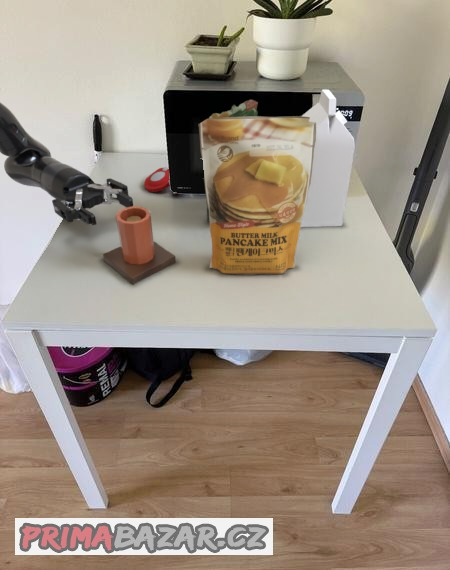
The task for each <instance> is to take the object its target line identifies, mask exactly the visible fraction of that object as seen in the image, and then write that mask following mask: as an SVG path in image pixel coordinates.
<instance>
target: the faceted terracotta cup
mask: <svg viewBox="0 0 450 570" xmlns="http://www.w3.org/2000/svg"><path fill="white" fill-rule="evenodd" d="M131 216H139V217H140V218H141V220H139V221H134V222H130V221H127V218H128V217H131ZM115 220H116V226H117V232H118V238H119V245H120V246H121V251H122V256H123V259H124V261H126V262H128V263H130V264H137V265H140V264H144V263H147V262H149V261H150V260H152V259H153V257H154V255H155V250H154V242H155V240H154V233H153V223H152V216H151V212H150V210H149V209H148V208H146V207H143V206H137V205H136V206H135V205H133V206H132V207H127V208H126V207H124V208H122V209H119V210H118V211H117V213H116V215H115Z"/></svg>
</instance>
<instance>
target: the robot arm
mask: <svg viewBox="0 0 450 570" xmlns="http://www.w3.org/2000/svg"><path fill="white" fill-rule="evenodd" d="M0 154H2V155H3V156H5V157H7V158H5V160H4V163H3V167H4V171H5V173H6V174H7V176H8V177H9V178H10V179H11V180H12V181H14V182H16V183H18V184H20V185H22V186H27V187H33V188H34V187H35V188H40V189H41V190H43V191H45V192H46V193H47V194H48V195H49V196H50V197H52V198H54V199H52V200H51V202H52V206H53V210H54V213H55V214H56V215H57V216H59V217H60V218H61V219H63V220H64V221H65V222H66V223H69V224H70V223H73V222H74V220H76V221H82V222H83V223H84V224H86V225H90V226H92V227H93V226H94V227H95V226H96V225H98V224H97V218H96V215H95V214H94V213H93V212H91V211H89V209H92V208H94V207H96V206H99V205H111V204H112V203H118V204H120V205H121V206H123V207H124V208H127V207H132V206H134V200H133V197H132V196H130V195H129V189H128V188H129V187H128V185H126V184H124V183H122V182H120V181H117V180H115V179H113V178H107V179H106V183H103V184H100V183H96V182H95V181H93V179H92V178H91V177H90V176H89V175H87V174H86V173H84V172H82V171H81V170H78V169H77V168H74V167H73V166H72V165H69V164H66V163H63V162H61V161H59V160H57V159H56V158H54V157H52V153H51V151H50V150H49V149H48V148H47V146H45V145H44V144H43V143H42V142H40V141H39V140H37V139H35V138H34V137H33V136H31V135H30V134H29V133H28V132H27V130H25V127H23V125H22V124H21V122H20V121H19V120H18V119H17V117H16V115H15V114H14V113H13V112H12V110H10V109H9V108H8V107H7V106H6V105H5V104H3V102H0ZM105 194H106V198H105ZM113 195H116V197H114V196H113Z"/></svg>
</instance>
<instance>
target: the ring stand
mask: <svg viewBox="0 0 450 570" xmlns="http://www.w3.org/2000/svg"><path fill="white" fill-rule="evenodd" d="M139 220H141V218H140V217H139V216H131V217H128V218H127V221H130V222H134V221H139ZM154 250H155V255H154V257H153V259H152V260H150V261H149V262H147V263H144V264H140V265H137V264H130V263H128V262H126V261H124V259H123V256H122V251H121V245H120V246H118V247H116V248H113V249H111V250H110V251H107V252H105V253H102V259H103V261H104V263H106V264H107V265H108V266H110V267H111V268H112V269H113V270H115V272H117V273H118V274H119V275H121V277H123V278H124V279H126V280H127V281H128V282H129V283H131V284H132V285H135V284H137V283H138V282H140V281H142V280H144V279H147V278H148V277H150V276H152V275H154V274H156V273H158V272H160V271H162V270H164V269H165V268H167V267H170V266H171V265H173V264H176V261H177V259H176V255H174V254H173V253H172V252H170V251H169V250H167V249H166V248H164V247H163V246H161V245H160V244H158V243H157V242H155V241H154Z"/></svg>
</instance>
